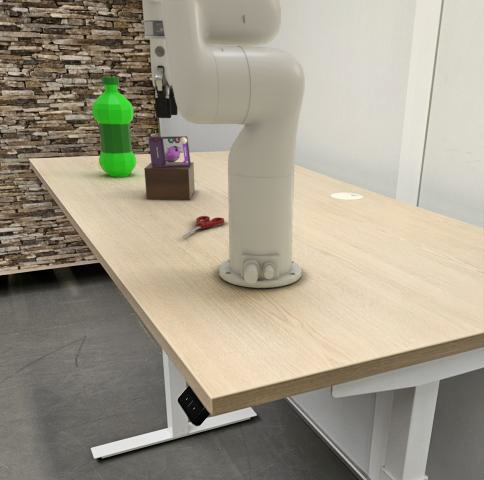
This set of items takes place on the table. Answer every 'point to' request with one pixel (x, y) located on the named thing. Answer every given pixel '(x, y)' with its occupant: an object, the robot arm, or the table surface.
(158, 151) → the purple toy box
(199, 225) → the scissors
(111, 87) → the plastic bottle
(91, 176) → the table surface
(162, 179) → the walnut block
